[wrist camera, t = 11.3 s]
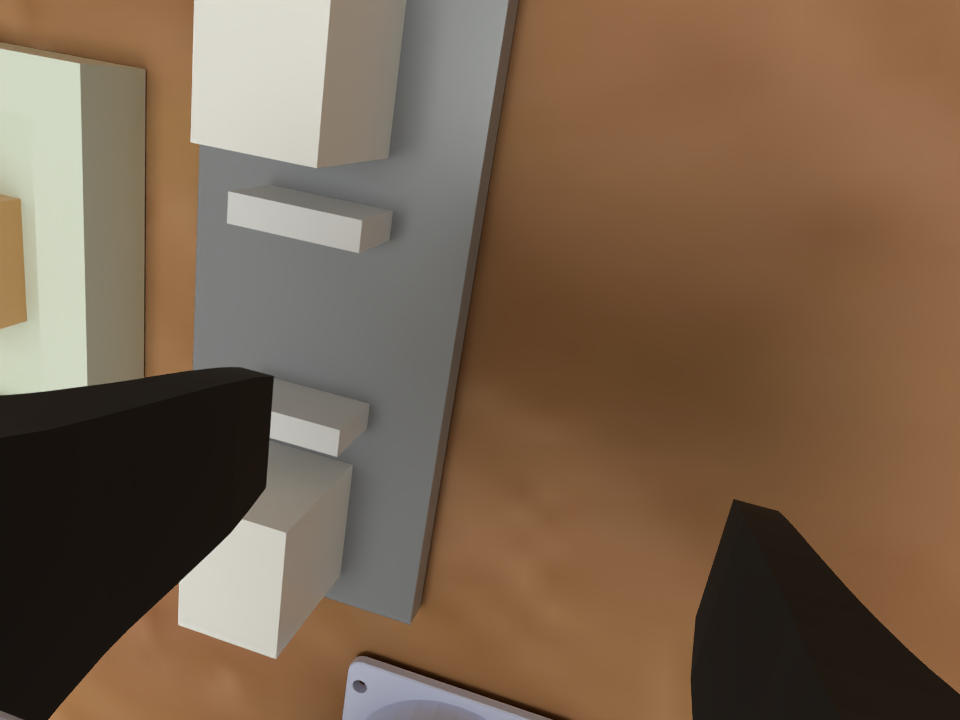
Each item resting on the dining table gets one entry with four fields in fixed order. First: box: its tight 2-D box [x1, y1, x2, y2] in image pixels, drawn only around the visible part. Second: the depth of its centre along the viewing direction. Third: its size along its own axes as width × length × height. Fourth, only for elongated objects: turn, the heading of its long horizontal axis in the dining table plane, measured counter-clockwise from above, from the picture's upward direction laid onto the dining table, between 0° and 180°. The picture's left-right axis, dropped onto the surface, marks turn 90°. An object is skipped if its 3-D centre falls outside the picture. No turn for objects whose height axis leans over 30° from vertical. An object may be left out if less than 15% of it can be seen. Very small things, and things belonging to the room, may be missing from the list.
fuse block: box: [178, 0, 519, 659], centre depth 20 cm, size 19×8×5 cm, turn 171°
